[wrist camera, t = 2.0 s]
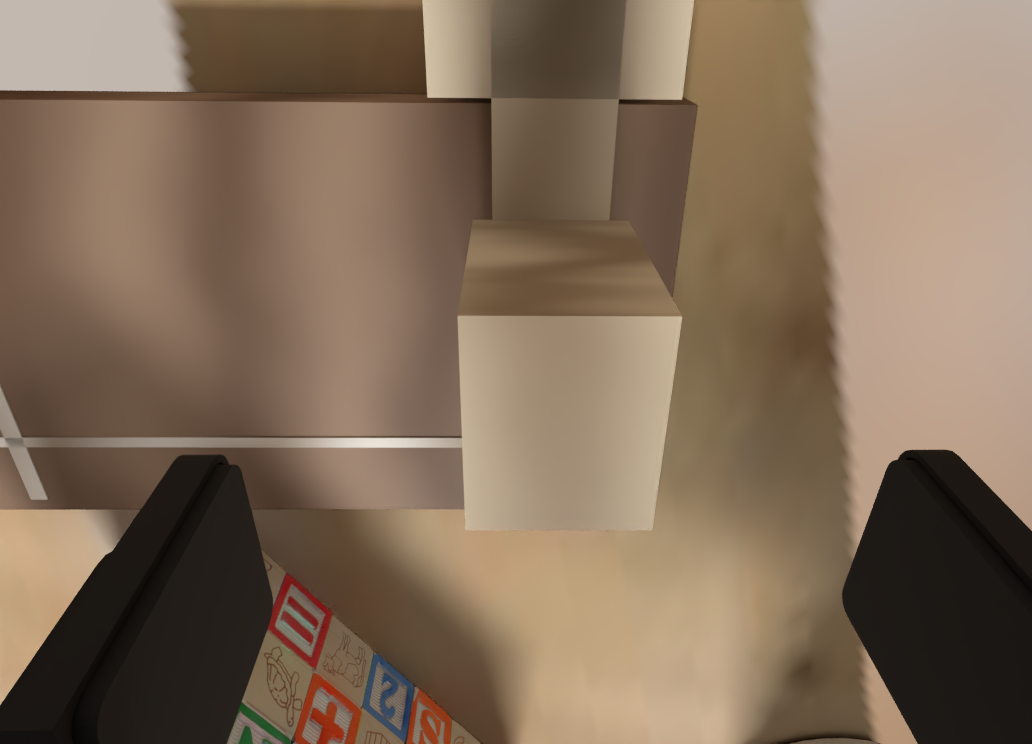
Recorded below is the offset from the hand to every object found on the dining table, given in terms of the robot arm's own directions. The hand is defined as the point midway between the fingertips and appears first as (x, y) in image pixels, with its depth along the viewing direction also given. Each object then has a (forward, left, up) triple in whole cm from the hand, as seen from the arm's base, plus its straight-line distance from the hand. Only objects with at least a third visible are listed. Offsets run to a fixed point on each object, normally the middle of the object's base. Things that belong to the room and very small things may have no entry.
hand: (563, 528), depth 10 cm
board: (+9, +3, -14) cm, 16 cm away
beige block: (0, 0, -13) cm, 13 cm away
